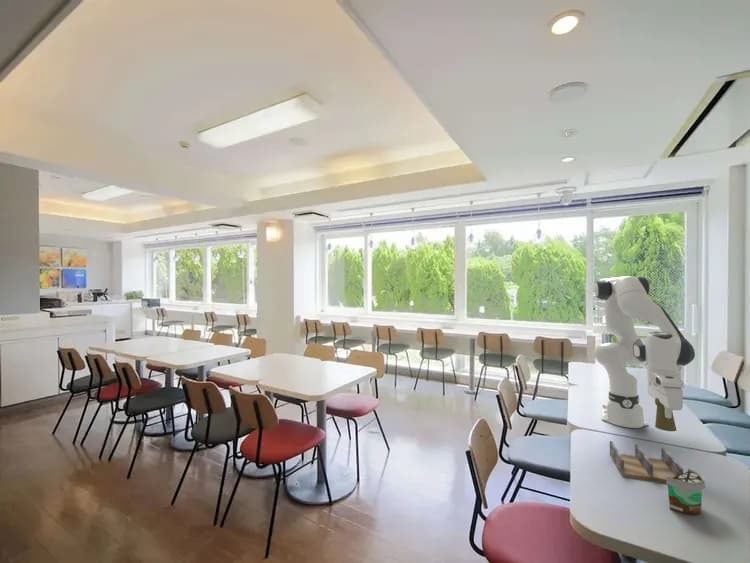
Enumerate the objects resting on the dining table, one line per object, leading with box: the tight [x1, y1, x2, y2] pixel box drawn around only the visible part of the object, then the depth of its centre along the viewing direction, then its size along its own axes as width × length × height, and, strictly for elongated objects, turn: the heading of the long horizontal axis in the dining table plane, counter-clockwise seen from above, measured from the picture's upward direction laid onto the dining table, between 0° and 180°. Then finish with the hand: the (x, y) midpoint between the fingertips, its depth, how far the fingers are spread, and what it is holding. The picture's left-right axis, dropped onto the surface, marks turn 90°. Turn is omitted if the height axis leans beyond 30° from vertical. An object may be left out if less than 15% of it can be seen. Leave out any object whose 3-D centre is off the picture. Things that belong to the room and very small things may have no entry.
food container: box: [665, 467, 706, 517], centre depth 103 cm, size 12×6×10 cm, turn 114°
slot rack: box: [609, 440, 684, 484], centre depth 126 cm, size 16×17×6 cm
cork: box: [654, 398, 678, 432], centre depth 126 cm, size 6×6×11 cm
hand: (664, 414), depth 126 cm, fingers closed on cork, 4 cm apart
